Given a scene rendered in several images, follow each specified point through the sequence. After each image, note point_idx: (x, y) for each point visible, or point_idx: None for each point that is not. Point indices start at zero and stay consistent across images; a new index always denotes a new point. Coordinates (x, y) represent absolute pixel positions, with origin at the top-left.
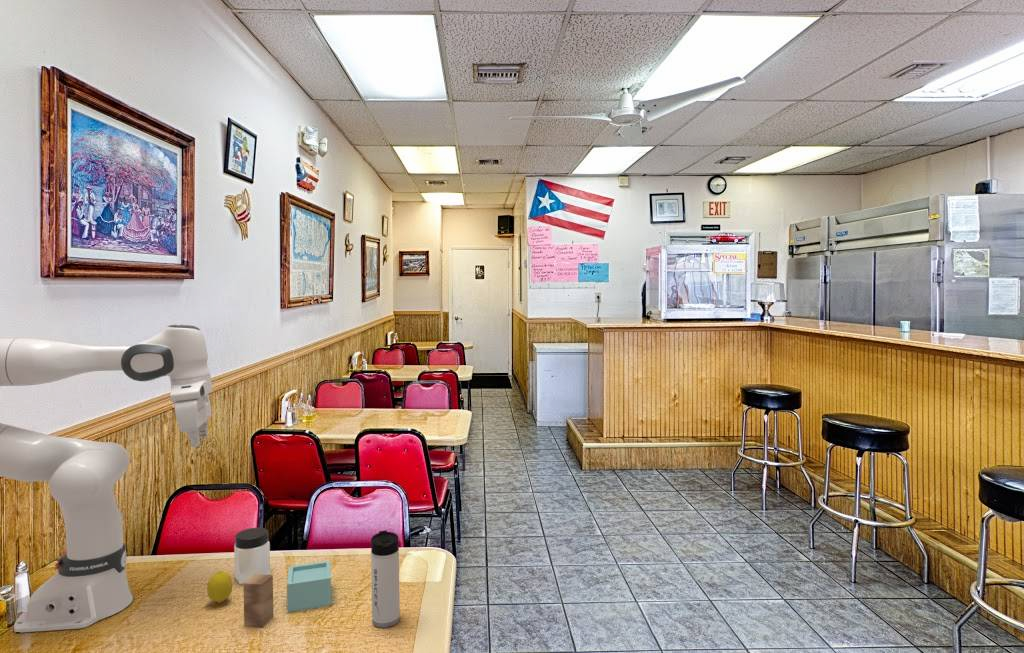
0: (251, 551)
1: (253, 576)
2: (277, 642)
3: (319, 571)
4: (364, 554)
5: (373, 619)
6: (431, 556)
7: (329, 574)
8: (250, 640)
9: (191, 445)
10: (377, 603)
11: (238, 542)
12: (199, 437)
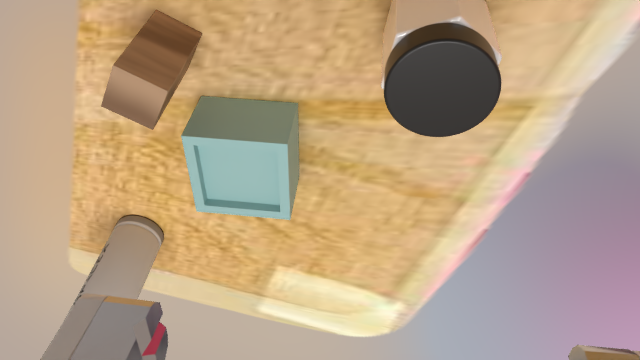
0: (384, 68)
1: (152, 87)
2: (83, 76)
3: (258, 191)
4: (432, 245)
5: (123, 222)
6: (360, 322)
7: (214, 211)
8: (93, 25)
9: (72, 310)
10: (102, 251)
11: (406, 45)
12: (583, 356)
